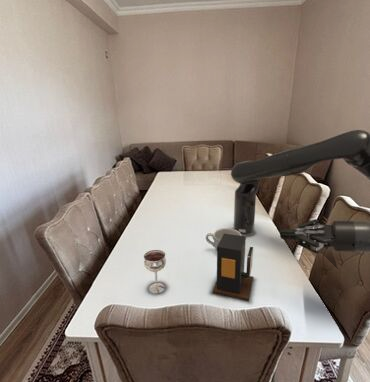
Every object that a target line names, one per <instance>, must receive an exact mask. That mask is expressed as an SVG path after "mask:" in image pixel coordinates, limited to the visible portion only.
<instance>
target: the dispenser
mask: <svg viewBox="0 0 370 382" xmlns="http://www.w3.org/2000/svg"><path fill="white" fill-rule="evenodd" d="M246 240H247V236H239V235H232V234H225V233H224V234H223V236H222V238H221V240H220V242H219V244H218V246H217V251H216V281H215V283H214V286H213V288H212V294H214V295H217V296H222V297H226V298H231V299H235V300H240V301H244V302H250V299H251V294H252V288H253V284H254V276H252V275H250V278H249V277H246V272H245V264H246V263H245V261H246V242H247V241H246Z"/></svg>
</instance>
